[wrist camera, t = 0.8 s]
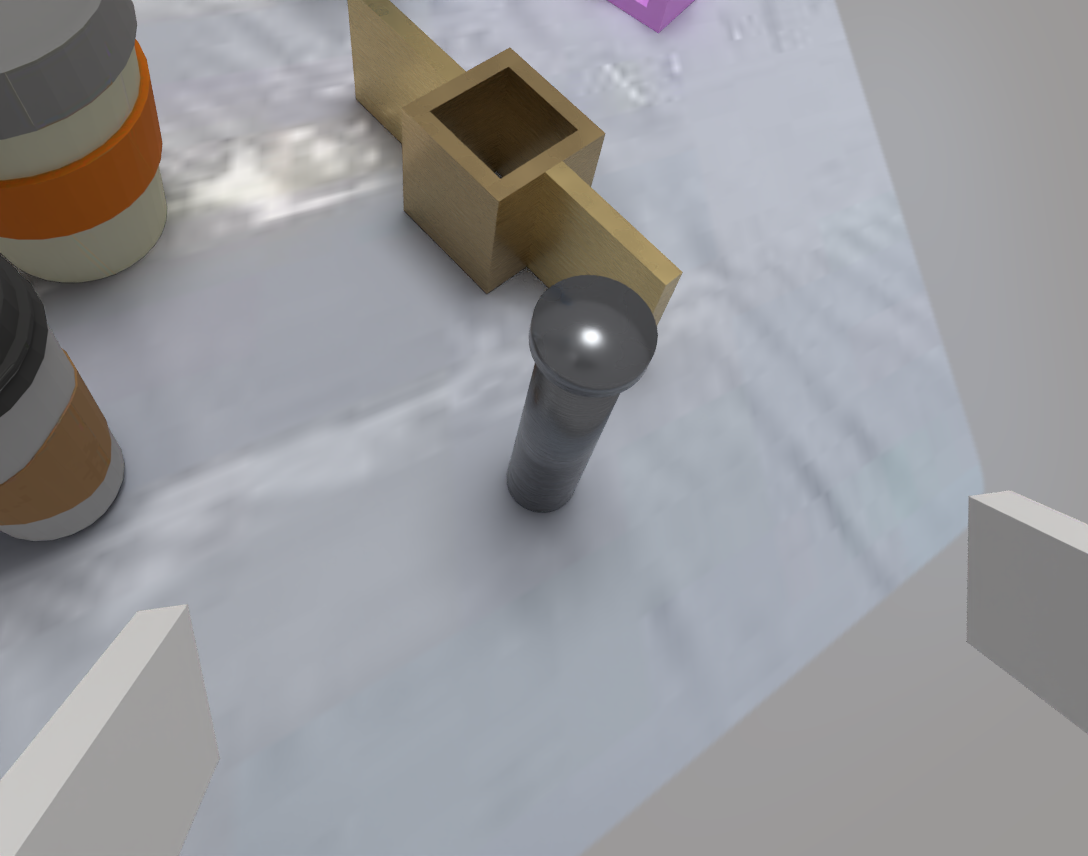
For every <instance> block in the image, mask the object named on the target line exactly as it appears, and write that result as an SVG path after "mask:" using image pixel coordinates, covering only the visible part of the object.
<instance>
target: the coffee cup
mask: <svg viewBox="0 0 1088 856" xmlns="http://www.w3.org/2000/svg"><path fill="white" fill-rule="evenodd" d="M123 473H124V460H123V455H122V451H121V448H120V446H119V445H118V443H117V441H116V440H115V438H114V436H113V434H112V433H111V431H110V429H109V428H108V425H107V421H106V419H105V417H104V416H103V414H102V412H101V411H100V409H99V407H98V405H97V404H96V402H95V400H94V398H93V397H92V395H91V393H90V392H89V390H88V388H87V386H86V385H85V383H84V381H83V380H82V378H81V376H80V374H79V373H78V371H77V369H76V367H75V366H74V364H73V362H72V361H71V359H70V357H69V356H68V354H67V352H66V351H65V350H63V349H62V348H61V346H60V345H59V343H58V341H57V340H56V338H55V336H54V334H53V333H52V331H51V329H50V328H49V326H48V324H47V322H46V316H45V311H44V306H43V304H42V302H41V301H40V299H39V297H38V296H37V294H36V292H35V291H34V289H33V287H32V286H31V284H30V283H29V282H28V281H27V280H25V279H24V278H23V277H22V276H21V275H20V274H19V273H18V272H17V270H16V269H15V268H14V267H13V266H12V265H10V264H9V263H8V262H7V261H6V260H5V259H3V258H2V257H1V256H0V531H2V532H4V533H6V534H8V535H10V536H12V537H14V538H19V539H25V540H30V541H44V540H55V539H58V538H62V537H65V536H69V535H72V534H74V533H77V532H78V531H80V530H82V529H84V528H86V527H88V526H89V525H91V524H93V523H94V522H95V521H96V520H97V519H98V518H100V517H101V516H102V515H103V514H104V513H105V512H106V511H107V509H108V508H109V507H110V505H111V504H112V502H113V501H114V500H115V498H116V496H117V493H118V491H119V489H120V486H121V484H122V481H123Z"/></svg>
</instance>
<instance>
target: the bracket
mask: <svg viewBox="0 0 1088 856" xmlns="http://www.w3.org/2000/svg"><path fill="white" fill-rule="evenodd" d="M608 1H609V2H611V3H612V4H614V5H615V6H617V7H618V8H620V9H622V10H623V11H625V12H626V13H628V14H629V15H631V16H632V17H634V18H636V19H637V20H639V21H640V22H642V23H643V24H645V25H646V26H648V27H650V28H651V29H653V30H654V31H656V32H657V33H659V32H660V31H661V30H663V29H664V28H665V27H666V26H667V25H668V24H669V23H670V22H671V21H672V20H673V19H675V18H676V17H677V16H678V15H679V14H680V13H681V12H682V11H683V10H684V9H686V8H687V7H688V6H689V5H690V4H691V3H692V2H693V1H694V0H608Z"/></svg>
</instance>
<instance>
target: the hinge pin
mask: <svg viewBox="0 0 1088 856" xmlns="http://www.w3.org/2000/svg"><path fill="white" fill-rule="evenodd" d="M657 337H658V333H657V326H656V322H655V319H654V316H653V314H652V312H651V310H650V308H649V306H648V305H647V304H646V302H645V301H644V300H643V299H642V298H641V297H640V296H639V295H638V294H637V293H636V292H635V291H634V290H632V289H631V288H629V287H628V286H626V285H624V284H623V283H621V282H619V281H616V280H614V279H611V278H607V277H603V276H597V275H579V276H573V277H570V278H566V279H564V280H562V281H559V282H557V283H556V284H554V285H553V286H551V287H550V288H549V289H548V290H546V291H545V293H544V294H543V295H542V296H541V297H540V299H539V300H538V302H537V304H536V306H535V309H534V313H533V316H532V321H531V325H530V330H529V346H530V351H531V354H532V357H533V359H534V361H535V365H534V369H533V373H532V377H531V381H530V385H529V389H528V393H527V397H526V401H525V405H524V408H523V412H522V416H521V420H520V424H519V428H518V432H517V436H516V440H515V444H514V448H513V452H512V456H511V460H510V464H509V468H508V472H507V485H508V488H509V491H510V493H511V495H512V496H513V498H514V499H515V500H516V501H517V502H518V503H519V504H520V505H521V506H523V507H525V508H526V509H529V510H531V511H535V512H551V511H554V510H557V509H559V508H561V507H562V506H564V505H565V504H566V503H567V502H568V501H569V500H570V498H571V497H572V495H573V493H574V491H575V488H576V486H577V484H578V482H579V480H580V478H581V476H582V474H583V471H584V469H585V467H586V465H587V463H588V461H589V459H590V456H591V454H592V452H593V450H594V448H595V446H596V444H597V441H598V439H599V437H600V435H601V433H602V431H603V429H604V427H605V424H606V422H607V420H608V418H609V416H610V414H611V412H612V409H613V407H614V405H615V403H616V401H617V399H618V397H619V394H620V393H621V392H623V391H625V390H627V389H629V388H630V387H632V386H633V385H634V384H635V383H636V382H637V381H638V380H639V379H640V378H641V377H642V375H643V374H644V372H645V371H646V369H647V367H648V365H649V363H650V361H651V359H652V357H653V355H654V352H655V349H656V345H657Z"/></svg>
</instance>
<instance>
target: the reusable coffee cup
mask: <svg viewBox="0 0 1088 856" xmlns="http://www.w3.org/2000/svg"><path fill="white" fill-rule="evenodd" d="M136 29H137V21H136V16H135V10H134V5H133V3H132V0H0V253H1V254H3V255H4V256H5V257H6V258H7V259H8V260H9V261H10V262H11V263H12V264H14V265H15V266H16V267H17V268H19V269H21V270H22V271H24V272H26V273H28V274H30V275H32V276H35V277H38V278H41V279H45V280H49V281H56V282H63V283H68V282H86V281H92V280H98V279H102V278H105V277H108V276H111V275H114V274H116V273H118V272H120V271H122V270H124V269H126V268H128V267H130V266H132V265H133V264H135V263H136V262H137V261H139V260H140V259H141V258H143V257H144V256H145V255H146V254H147V253H148V252H149V251H150V250H151V249H152V248H153V246H154V245H155V244H156V242H157V240H158V239H159V237H160V236H161V234H162V231H163V228H164V226H165V223H166V216H167V205H166V200H165V194H164V189H163V184H162V179H161V174H160V169H159V163H160V160H161V152H162V138H161V132H160V127H159V122H158V116H157V111H156V106H155V101H154V95H153V90H152V85H151V80H150V74H149V69H148V64H147V59H146V57H145V55H144V53H143V51H142V49H141V47H140V45H139V43H138V41H137V40H136V39H135V37H136Z"/></svg>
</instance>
